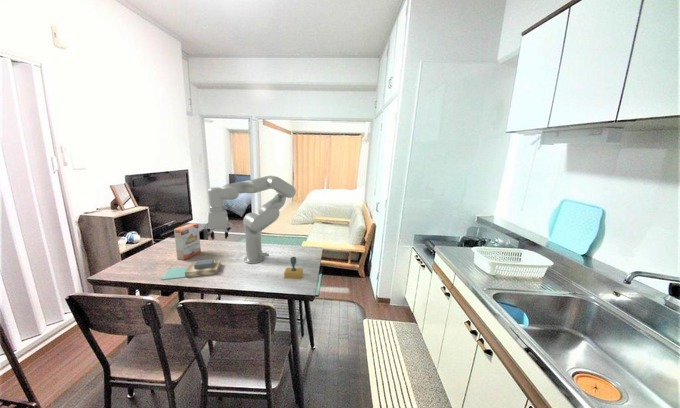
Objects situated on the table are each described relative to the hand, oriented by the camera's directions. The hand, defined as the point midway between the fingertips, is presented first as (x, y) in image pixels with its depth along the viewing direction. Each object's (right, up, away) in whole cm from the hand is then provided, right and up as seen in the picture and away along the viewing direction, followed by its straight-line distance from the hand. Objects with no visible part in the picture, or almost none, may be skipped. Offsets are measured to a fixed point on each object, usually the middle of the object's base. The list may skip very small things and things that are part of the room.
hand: (219, 238), depth 139 cm
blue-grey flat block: (-10, -15, +1) cm, 18 cm away
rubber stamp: (+44, -22, -1) cm, 49 cm away
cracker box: (-31, -15, +20) cm, 40 cm away
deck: (-10, -19, +1) cm, 22 cm away
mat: (-24, -20, -3) cm, 31 cm away
